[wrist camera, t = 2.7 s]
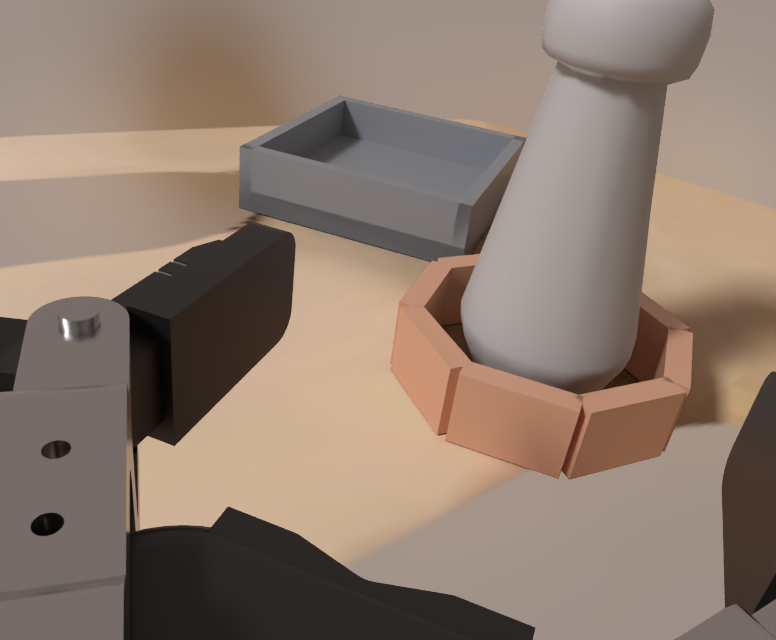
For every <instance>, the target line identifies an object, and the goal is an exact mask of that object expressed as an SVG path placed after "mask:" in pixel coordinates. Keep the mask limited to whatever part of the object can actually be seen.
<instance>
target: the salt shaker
mask: <svg viewBox="0 0 776 640" xmlns="http://www.w3.org/2000/svg"><path fill="white" fill-rule="evenodd" d="M713 15H714V8H713V6H712V4H711V2H710V0H549V3H548V5H547V8H546V11H545V17H544V23H543V29H542V35H541V36H542V47H543V49H544V50H545V51H546V53H547V54H548V55H549V56H550V57H552V58H554V59H556V60H557V61H558V63H557V65H556V67H555V70H554V72H553V75H552V77H551V80H550V82H549V85H548V87H547V89H546V92H545V95H544V97H543V99H542V102H541V104H540V107H539V109H538V112H537V114H536V117H535V119H534V122H533V124H532V127H531V129H530V131H529V134H528V136H527V139H526V141H525V144H524V146H523V149H522V151H521V154H520V156H519V159H518V161H517V164H516V166H515V169H514V171H513V174H512V176H511V178H510V181H509V183H508V186H507V188H506V191H505V193H504V196H503V198H502V201H501V203H500V206H499V208H498V211H497V213H496V216H495V218H494V221H493V223H492V225H491V228H490V230H489V233H488V235H487V238H486V240H485V243H484V245H483V248H482V250H481V253H480V255H479V258H478V260H477V263H476V265H475V268H474V270H473V272H472V275H471V277H470V280H469V282H468V285H467V287H466V290H465V292H464V295H463V297H462V300H461V320H462V325H463V331H464V336H465V338H466V341H467V344H468V349H469V353H470V357H471V361H472V362H474V363H478V364H481V365H484V366H487V367H490V368H494V369H497V370H500V371H503V372H507V373H510V374H513V375H516V376H520V377H523V378H526V379H529V380H532V381H536V382H539V383H542V384H545V385H549V386H552V387H555V388H558V389H562V390H565V391H568V392H571V393H574V394H578V395H580V394H585V393H590V392H595V391H600V390H602V389H603V388H604V387H605V386H606V385H607V384H609V383H610V382H611V381H612V380H613V379H614V378H615V377H616V376H617V375H618V374H619V373H620V372H621V371H622V370H623V369H624V368H625V366H626V364H627V363H628V361H629V359H630V358H631V355H632V351H633V348H634V345H635V341H636V338H637V329H638V320H639V311H640V302H641V293H642V283H643V274H644V265H645V256H646V247H647V238H648V229H649V220H650V211H651V203H652V196H653V188H654V181H655V173H656V166H657V158H658V151H659V144H660V136H661V129H662V121H663V114H664V106H665V99H666V91H667V85H668V84H672V83H676V82H679V81H683V80H687V79H689V78H690V77H691V75H692V74H693V72H694V71H695V70H696V68H697V67H698V65H699V63H700V61H701V58H702V56H703V53H704V51H705V48H706V46H707V43H708V41H709V38H710V35H711V28H712V22H713Z"/></svg>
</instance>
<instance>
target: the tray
mask: <svg viewBox="0 0 776 640" xmlns="http://www.w3.org/2000/svg"><path fill="white" fill-rule="evenodd" d="M525 141H526V138H524V137H519V136H515V135H510V134H506V133H502V132H497V131H493V130H488V129H484V128H480V127H475V126H471V125H466V124H462V123H458V122H453V121H449V120H444V119H440V118H436V117H431V116H427V115H422V114H418V113H413V112H409V111H404V110H400V109H396V108H391V107H387V106H383V105H378V104H374V103H369V102H365V101H360V100H356V99H352V98H347V97H343V96H338V97H336V98H334V99H332V100H330V101H328V102H326V103H324V104H322V105H320V106H318V107H317V108H315V109H312V110H311V111H309V112H307V113H305V114H303V115H301V116H299V117H297V118H295V119H293V120H291V121H289V122H287V123H285V124H283V125H281V126H279V127H277V128H275V129H273V130H271V131H270V132H268V133H266V134H264V135H262V136H260V137H258V138H256V139H254V140H252V141H250V142H248V143H246V144H244V145H242V146H240V176H239V185H240V186H239V208H241V209H245V210H248V211H252V212H255V213H259V214H263V215H266V216H270V217H273V218H277V219H280V220H284V221H288V222H291V223H295V224H298V225H302V226H306V227H309V228H313V229H316V230H320V231H324V232H327V233H331V234H334V235H338V236H342V237H345V238H349V239H352V240H356V241H360V242H363V243H367V244H370V245H374V246H378V247H381V248H385V249H388V250H392V251H395V252H399V253H403V254H406V255H410V256H413V257H417V258H421V259H424V260H428V261H432V260H433V261H436V262H437V261H438V258H444V257H454V256H464V255H471V253H472V252H473V251H474V249H475V248H476V246H477V245H478V243H479V242H480V240H481V239H482V237H483V236H484V235H485V233H486V232H487V230H488V229H489V227H490V226H491V224H492V223H493V221H494V218H495V216H496V213H497V211H498V208H499V206H500V203H501V201H502V198H503V196H504V193H505V191H506V188H507V186H508V183H509V181H510V178H511V176H512V174H513V171H514V169H515V166H516V164H517V161H518V159H519V156H520V154H521V151H522V149H523V146H524V144H525Z"/></svg>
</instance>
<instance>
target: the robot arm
mask: <svg viewBox="0 0 776 640" xmlns="http://www.w3.org/2000/svg"><path fill="white" fill-rule="evenodd" d="M294 262H295V239H294V236H293V235H292V233H290V232H287V231H283V230H280V229H276V228H272V227H269V226H265V225H262V224H258V223H255V222H251V223H249V224H247V225H245V226H244V227H243V228H241V229H240V230H238V231H237V232H235V233H234V234H232V235H231V236H229V237H228V238H226V239H225V240H223V241H221V240H216V241H213V242H209V243H206V244H202V245H199V246H196V247H192V248H191V249H189V250H188V251H186V252H185V253H183V254H181V255H180V256H178V257H177V258H175V259H174V261H173V263H172V262H169V263H168V264H166V265H164V266H163V267H161V268H160V269H159V271H158V273H157V272H154V273H152V274H151V275H149V276H147V277H146V278H144V279H143V280H141V281H140V282H138V283H137V284H135V285H134V286H132V287H130V288H129V289H127V290H126V291H124V292H123V293H121V294H120V295H118V296H117V297H115V298H113V299H112V300H108V299H104V298H99V297H71V298H65V299H61V300H57V301H54V302H51V303H48V304H46V305H44V306H42V307H40V308H39V309H37V310H36V311H35V312H34V313H32V314H31V316H30V317H29V319H28V320H22V319H13V318H4V317H0V640H532V639H533V635H534V631H535V627H532V626H530V625H527V624H525V623H522V622H520V621H517V620H515V619H512V618H509V617H507V616H504V615H502V614H499V613H497V612H494V611H491V610H489V609H487V608H484V607H481V606H479V605H477V604H474V603H471V602H469V601H466V600H464V599H461V598H459V597H456V596H453V595H448V594H442V593H436V592H430V591H424V590H418V589H412V588H406V587H400V586H395V585H388V584H383V583H376V582H372V581H368V580H365V579H363V578H361V577H359V576H358V575H356V574H355V573H353V572H352V571H350V570H349V569H347V568H346V567H345V566H343V565H342V564H340V563H339V562H337V561H336V560H334V559H333V558H332V557H330V556H329V555H327V554H326V553H324V552H323V551H321V550H320V549H319V548H317V547H316V546H314V545H313V544H311V543H310V542H308V541H307V540H306V539H304V538H303V537H301V536H300V535H298V534H296V533H294V532H291V531H289V530H286V529H284V528H281V527H279V526H276V525H274V524H271V523H269V522H266V521H264V520H261V519H258V518H256V517H253V516H251V515H248V514H246V513H243V512H241V511H238V510H236V509H233V508H231V507H227V509H226V510H225V511H224V512H223V513H222V515H221V516H220V517H219V518H218V520H217V521H216V522H215V523H214V525H213V526H212V527H204V526H188V525H179V526H163V527H155V528H148V529H143V530H140V501H139V453H138V444H139V443H140V442H141V441H142V440H143V439H144V438H145V437H146V436H150V437H152V438H155V439H158V440H160V441H163V442H165V443H168V444H171V445H173V446H175V445H176V444H177V443H178V442H179V441H180V440H181V439H182V438H183V437H184V436H185V435H186V434H187V433H188V432H189V431H190V430H191V429H192V428H193V427H194V426H195V425H196V424H197V423H198V422H199V421H200V420H201V419H202V418H203V417H204V416H205V415H206V414H207V413H208V412H209V411H210V410H211V409H212V408H213V407H214V406H215V405H216V404H217V403H218V402H219V401H220V400H221V399H222V398H223V397H224V396H225V395H226V394H227V393H228V392H229V391H230V390H231V389H232V388H233V387H234V386H235V385H236V384H237V383H238V382H239V381H240V380H241V379H242V378H243V377H244V376H245V375H246V374H247V373H248V372H249V371H250V370H251V369H252V368H253V367H254V366H255V365H256V364H257V363H258V362H259V361H260V360H261V359H262V358H263V357H264V356H265V355H266V354H267V353H268V352H269V351H270V350H271V349H272V348H273V347H274V346H275V345H276V344H277V343H278V342H279V341H280V339H281V338H282V336H283V335H284V333H285V331H286V328H287V326H288V323H289V319H290V315H291V308H292V293H293V278H294ZM722 508H723V509H722V510H723V548H724V585H725V609H723V610H721V611H720V612H718V613H717V614H715V615H713V616H712V617H710V618H709V619H707V620H705V621H704V622H702V623H701V624H699V625H697V626H696V627H694V628H693V629H691V630H690V631H688V632H686V633H684V634H683V635H681V636H680V637H678V638H676V639H675V640H776V372H771V373H770V374H769V375H768V376H767V378H766V379H765V381H764V383H763V385H762V387H761V389H760V391H759V393H758V395H757V397H756V399H755V401H754V403H753V405H752V407H751V410H750V412H749V414H748V416H747V418H746V420H745V422H744V424H743V426H742V428H741V430H740V433H739V435H738V437H737V439H736V441H735V443H734V445H733V447H732V450H731V452H730V454H729V457H728V460H727V463H726V467H725V471H724V475H723V482H722Z"/></svg>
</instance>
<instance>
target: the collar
mask: <svg viewBox="0 0 776 640" xmlns="http://www.w3.org/2000/svg"><path fill="white" fill-rule="evenodd" d="M479 255H480V254H473V255H464V256H454V257H444V258H438V261H437V262H436V261H433V260H432V261H431V263H430V264H429V265H428V266H427V268H426V269H425V270H424V272H423V273H422V274H421V275H420V277H419V278H418V279H417V280H416V282H415V283H414V284H413V286H412V287H411V288H410V289H409V291H408V292H407V293H406V294H405V296H404V297H403V298H402V300H401V301H400V302H399V309H398V316H397V323H396V330H395V337H394V343H393V350H392V357H391V364H392V365H391V371H392V372H393V373H394V375H395V376H396V378H397V379H398V380H399V382H400V383H401V385H402V386H403V387H404V389H405V390H406V392H407V393H408V394H409V396H410V397H411V399H412V400H413V401H414V403H415V404H416V406H417V407H418V408H419V410H420V411H421V413H422V414H423V415H424V417H425V418H426V420H427V421H428V422H429V424H430V425H431V427H432V428H433V430H434V431H435V432H436V434H437V435H438V434H443V433H447V435H446V439H445V440H446V441H449V442H452V443H455V444H458V445H461V446H464V447H467V448H470V449H472V450H475V451H478V452H481V453H484V454H487V455H490V456H493V457H496V458H499V459H502V460H505V461H508V462H511V463H514V464H517V465H520V466H522V467H525V468H528V469H531V470H534V471H537V472H540V473H543V474H546V475H549V476H552V477H555V478H558V479H559V476H560V472H561V470H562V472H563V473H564V474H565V475H566V476H567V477H568V479H573V478H577V477H580V476H585V475H588V474H592V473H596V472H600V471H604V470H608V469H611V468H615V467H619V466H623V465H627V464H631V463H635V462H638V461H642V460H646V459H649V458H654V457H657V456H660V455H661V452H662V451H665V449H666V446H667V444H668V442H669V439H670V437H671V435H672V432H673V430H674V427H675V425H676V423H677V420H678V418H679V415H680V413H681V411H682V408H683V406H684V403H685V401H686V399H687V396H688V394H689V391H690V389H691V371H692V347H693V333H692V332H688V330H689V327H688V326H687V325H685V324H684V323H683V322H681V321H680V320H679V319H677V318H676V317H675V316H673V315H672V314H670V313H669V312H668V311H666V310H665V309H664V308H662V307H661V306H660V305H658V304H657V303H656V302H654V301H653V300H652V299H650V298H649V297H648V296H646V295H645V294H644V293H641V302H640V311H639V320H638V329H637V338H636V341H635V345H634V348H633V351H632V355H631V358H630V359H629V361H628V363H627V364H626V366H625V369H626V370H627V371H628V372H630V373H631V374H632V375H633V376H634V377H635V378H636V379H637V380H639V381H640V382H639V383H634V384H629V385H624V386H619V387H614V388H609V389H605V390H600V391H595V392H590V393H585V394H580V395H578V394H574V393H571V392H568V391H565V390H562V389H558V388H555V387H552V386H549V385H545V384H542V383H539V382H536V381H532V380H529V379H526V378H523V377H520V376H516V375H513V374H510V373H507V372H503V371H500V370H497V369H494V368H490V367H487V366H484V365H481V364H478V363H474V362H471V360H470V359H469V358H468V357H467V356H466V355H465V353H464V352H463V351H462V350H461V349H460V348H459V347H458V345H457V344H456V343H455V342H454V341H453V340H452V339H451V337H450V336H449V335H448V334H447V333H446V332H445V330H444V329H443V328H442V327H441V326H443V325H450V324H457V323H462V320H461V300H462V297H463V295H464V292H465V290H466V287H467V285H468V282H469V280H470V277H471V275H472V272H473V270H474V268H475V265H476V263H477V260H478V258H479Z"/></svg>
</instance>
